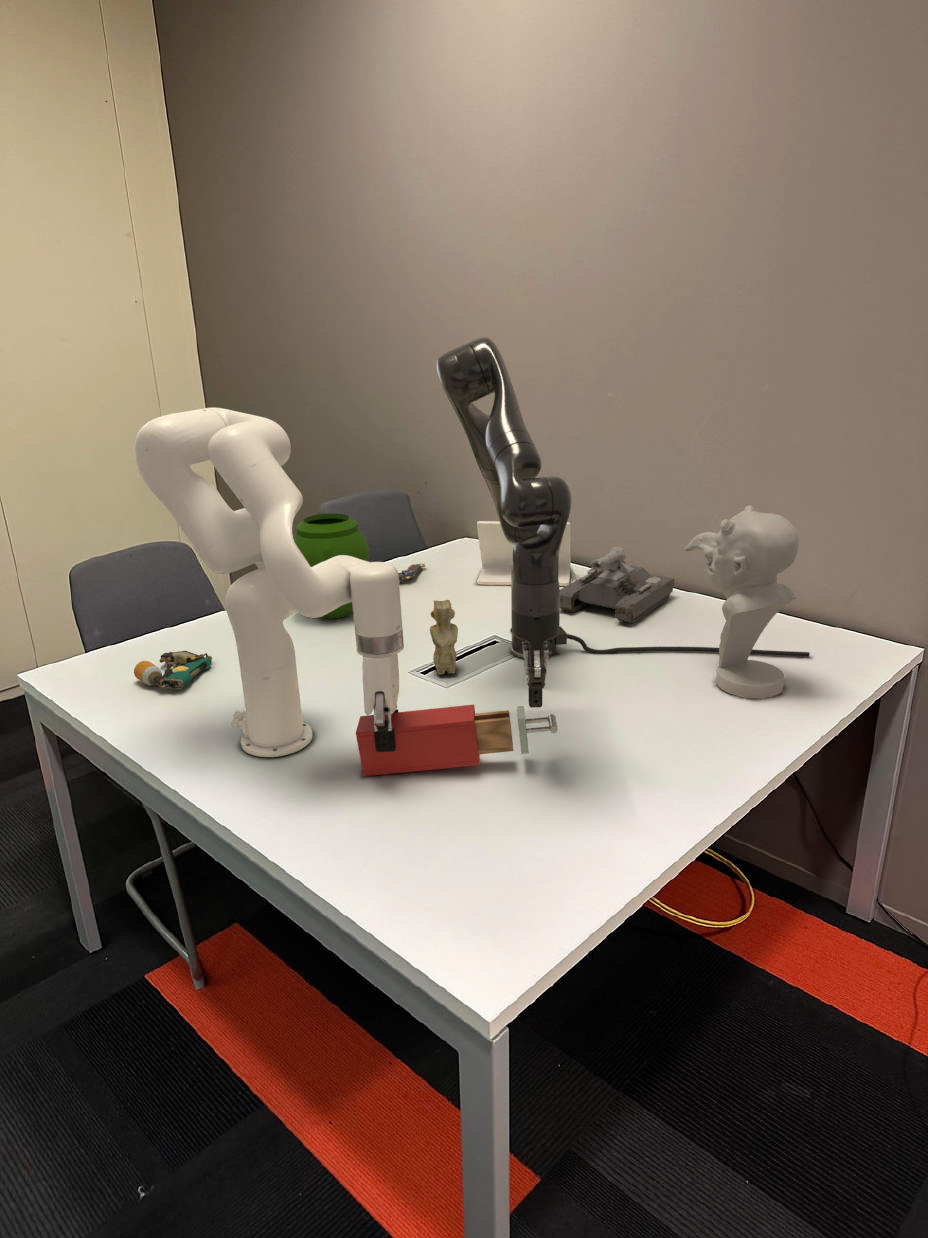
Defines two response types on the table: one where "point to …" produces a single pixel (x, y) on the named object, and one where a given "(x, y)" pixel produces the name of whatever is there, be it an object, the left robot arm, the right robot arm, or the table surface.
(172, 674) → the green toy blaster
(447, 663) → the sculpture
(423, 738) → the cabinet
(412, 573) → the toy gun
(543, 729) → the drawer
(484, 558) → the tablet stand
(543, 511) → the right robot arm
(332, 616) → the vase
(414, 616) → the table surface
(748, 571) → the bust sculpture
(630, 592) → the toy
